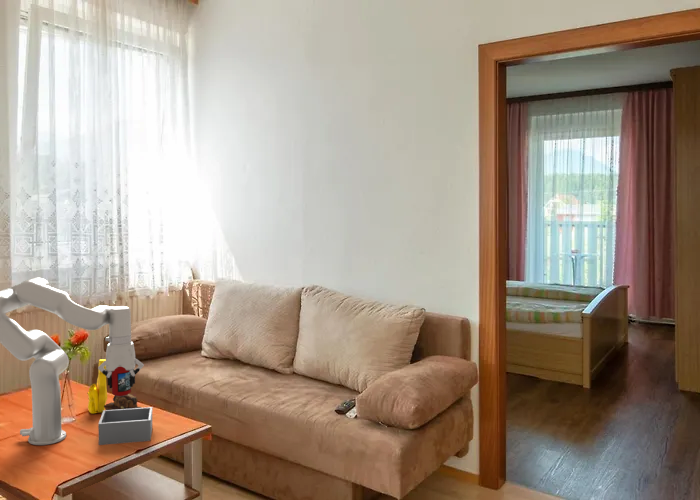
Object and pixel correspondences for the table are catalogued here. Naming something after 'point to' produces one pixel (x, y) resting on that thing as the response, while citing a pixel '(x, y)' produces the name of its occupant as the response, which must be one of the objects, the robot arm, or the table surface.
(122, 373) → the beverage can
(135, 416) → the gray open storage box
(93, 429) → the table surface
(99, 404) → the figure statuette
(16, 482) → the table surface
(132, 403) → the wooden carving
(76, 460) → the table surface
